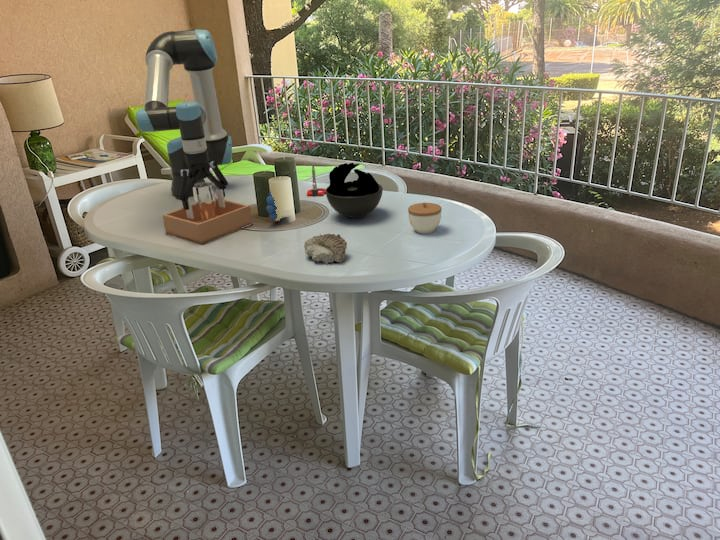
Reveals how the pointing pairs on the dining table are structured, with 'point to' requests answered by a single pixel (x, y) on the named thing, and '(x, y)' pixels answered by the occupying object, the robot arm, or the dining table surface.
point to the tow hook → (315, 186)
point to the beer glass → (205, 200)
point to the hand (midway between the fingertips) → (206, 212)
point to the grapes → (271, 207)
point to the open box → (207, 222)
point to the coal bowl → (353, 192)
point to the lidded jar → (424, 217)
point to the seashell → (326, 248)
